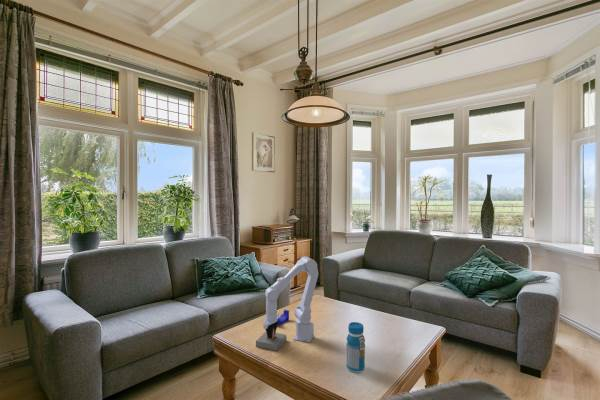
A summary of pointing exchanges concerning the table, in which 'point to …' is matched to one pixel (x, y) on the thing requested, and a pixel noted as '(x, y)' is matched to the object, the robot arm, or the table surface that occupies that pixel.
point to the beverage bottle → (355, 348)
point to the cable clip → (283, 317)
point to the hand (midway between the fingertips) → (271, 336)
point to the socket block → (271, 341)
